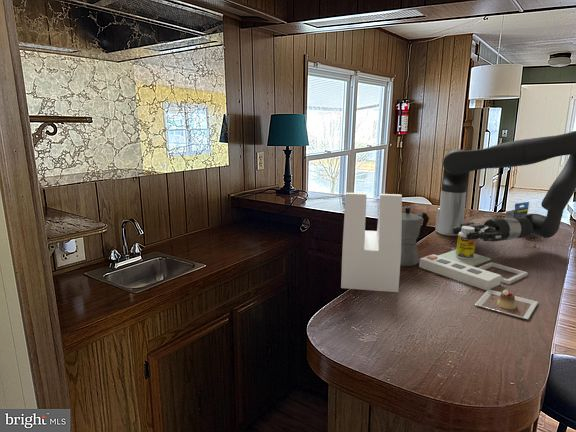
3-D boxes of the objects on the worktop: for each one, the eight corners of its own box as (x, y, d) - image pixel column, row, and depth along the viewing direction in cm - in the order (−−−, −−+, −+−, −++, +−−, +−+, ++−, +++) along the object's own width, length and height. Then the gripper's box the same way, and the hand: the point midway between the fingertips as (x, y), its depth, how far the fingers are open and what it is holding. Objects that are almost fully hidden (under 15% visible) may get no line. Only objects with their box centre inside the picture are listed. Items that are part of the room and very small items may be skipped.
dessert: (537, 305, 106) (540, 288, 105) (527, 323, 97) (530, 304, 96) (487, 292, 113) (489, 276, 112) (473, 308, 104) (475, 290, 103)
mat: (437, 257, 139) (437, 255, 139) (457, 250, 146) (457, 248, 146) (470, 267, 130) (470, 266, 130) (490, 259, 137) (490, 258, 137)
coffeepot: (397, 269, 129) (401, 212, 124) (378, 259, 137) (381, 206, 132) (435, 261, 135) (440, 208, 130) (415, 253, 143) (419, 202, 139)
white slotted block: (398, 292, 112) (404, 202, 106) (341, 288, 115) (344, 200, 109) (393, 267, 131) (399, 189, 124) (344, 264, 133) (347, 187, 127)
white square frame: (472, 272, 126) (472, 268, 126) (491, 264, 132) (491, 261, 132) (508, 284, 117) (509, 280, 117) (527, 275, 124) (527, 271, 123)
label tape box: (516, 228, 174) (520, 199, 171) (525, 230, 170) (529, 201, 167) (502, 231, 170) (506, 201, 167) (511, 233, 166) (515, 203, 163)
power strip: (419, 267, 130) (419, 257, 130) (437, 260, 136) (438, 251, 135) (487, 290, 113) (488, 279, 112) (504, 282, 119) (506, 271, 118)
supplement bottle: (456, 258, 136) (459, 229, 133) (455, 253, 141) (458, 224, 139) (474, 260, 134) (478, 230, 132) (472, 255, 140) (476, 226, 137)
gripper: (487, 213, 146) (447, 217, 141) (520, 224, 132) (477, 228, 127) (485, 234, 147) (445, 238, 143) (517, 246, 134) (474, 251, 129)
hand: (460, 233), depth 135 cm, fingers open, 6 cm apart
